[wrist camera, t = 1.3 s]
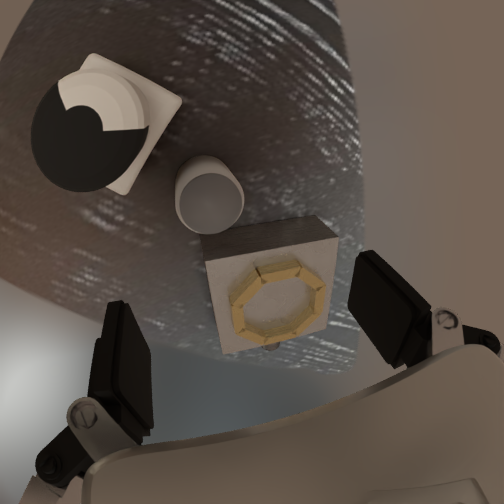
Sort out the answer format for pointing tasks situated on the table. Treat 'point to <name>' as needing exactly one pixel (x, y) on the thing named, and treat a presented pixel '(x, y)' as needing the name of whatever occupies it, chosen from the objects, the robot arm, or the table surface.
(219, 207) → the short grey cylinder
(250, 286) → the block
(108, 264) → the table surface
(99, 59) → the medicine bottle
